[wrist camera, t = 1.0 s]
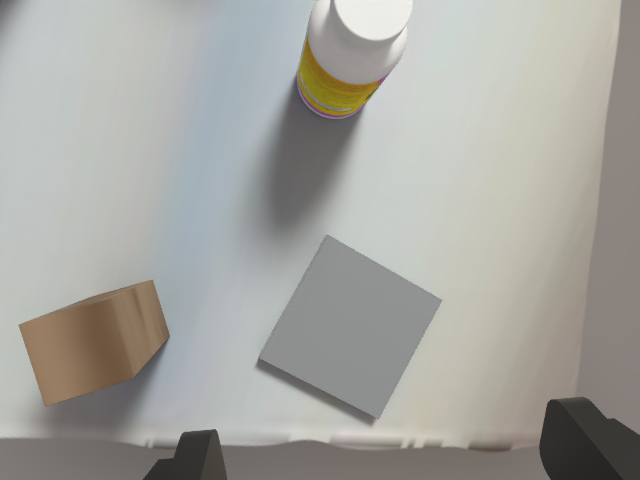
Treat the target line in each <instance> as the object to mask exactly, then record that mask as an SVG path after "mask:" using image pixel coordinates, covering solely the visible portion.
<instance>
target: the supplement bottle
mask: <svg viewBox="0 0 640 480" xmlns="http://www.w3.org/2000/svg"><path fill="white" fill-rule="evenodd" d="M411 12H412V0H316V2H315V4H314V6H313V8H312V11H311V14H310V18H309V22H308V27H307V32H306V36H305V40H304V45H303V49H302V53H301V57H300V62H299V66H298V71H297V86H298V90H299V93H300V96H301V98H302V99H303V101H304V103H305V104H306V105H307V106H308V107H309V108H310V109H311V110H312V111H313V112H315V113H316V114H318V115H320V116H322V117H325V118H330V119H342V118H346V117H349V116H352V115H353V114H355V113H357V112H358V111H359V110H360V109H361V108H362V107H363V106H364V105H365V104H366V103H367V101H368V100H369V99H370V98H371V96H372V95H373V94H374V92H375V91H376V90H377V89H378V87H379V86H380V85H381V83H382V82H383V81H384V80H385V78H386V77H387V76H388V75H389V73H390V72H391V71H392V70H393V68H394V67H395V66H396V64H397V63H398V62H399V60H400V58H401V56H402V54H403V52H404V49H405V45H406V41H407V23H408V21H409V19H410V16H411Z"/></svg>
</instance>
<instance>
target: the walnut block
mask: <svg viewBox="0 0 640 480" xmlns="http://www.w3.org/2000/svg"><path fill="white" fill-rule="evenodd" d="M19 328H20V331H21V334H22V337H23V340H24V343H25V346H26V349H27V352H28V355H29V358H30V361H31V364H32V367H33V371H34V374H35V377H36V380H37V383H38V386H39V389H40V392H41V395H42V398H43V401H44V404H45V406H48V405H51V404H54V403H57V402H61V401H64V400H67V399H70V398H73V397H77V396H80V395H83V394H86V393H89V392H93V391H96V390H99V389H102V388H105V387H108V386H112V385H115V384H118V383H121V382H124V381H128V380H131V379H133V378H134V377H135V375H136V374H137V373H138V372H139V371H140V370H141V369H142V367H143V366H144V365H145V364H146V363H147V362H148V361H149V359H150V358H151V357H152V356H153V355H154V354H155V353H156V351H157V350H158V349H159V348H160V347H161V346H162V345H163V343H164V342H165V341H166V340H167V339H168V338H169V337H170V335H169V331H168V328H167V325H166V322H165V318H164V315H163V312H162V308H161V305H160V302H159V299H158V295H157V292H156V289H155V285H154V282H153V280H149V281H146V282H142V283H139V284H135V285H132V286H128V287H125V288H121V289H118V290H114V291H110V292H107V293H103V294H100V295H96V296H93V297H90V298H87V299H85V300H82V301H79V302H77V303H74V304H72V305H69V306H66V307H64V308H61V309H59V310H56V311H53V312H51V313H48V314H46V315H43V316H40V317H38V318H35V319H33V320H30V321H27V322H25V323H22V324H19Z"/></svg>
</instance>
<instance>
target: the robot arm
mask: <svg viewBox="0 0 640 480" xmlns="http://www.w3.org/2000/svg"><path fill="white" fill-rule="evenodd" d="M539 449H540V456H541V460H542V463H543V466H544V468H545V470H546V472H547V474H548V476H549V477H550V479H551V480H640V435H638V434H637V433H636V432H634V431H633V430H631V429H630V428H628V427H626V426H625V425H623V424H622V423H620V422H619V421H617V420H616V419H613V418H612V419H607V418H606V417H605V416H604V415H603V414H602V413H601V412H600V411H599V410H598V409H597V407H596V406H595V405H594V404H593V403H592V402H591V401H590V400H588V399H587V398H585V397H575V398H564V399H553V400H550V401H549V402H548V404H547V408H546V413H545V418H544V424H543V429H542V434H541V440H540V446H539ZM143 480H227V475H226V470H225V465H224V460H223V455H222V451H221V446H220V441H219V436H218V433H217V431H216V430H215V429H213V430H202V431H191V432H184V433H183V434H182V435H181V437H180V440H179V443H178V446H177V449H176V452H175V455H174V458H171V459H160V460H158V461H157V463H156V464H155V465H154V466H153V467H152V469H151V470H150V471H149V473H148V474H147V475H146V476H145V478H144V479H143Z"/></svg>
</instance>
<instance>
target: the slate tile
mask: <svg viewBox="0 0 640 480" xmlns="http://www.w3.org/2000/svg"><path fill="white" fill-rule="evenodd" d="M441 301H442V300H441V299H440V298H438V297H436V296H434V295H433V294H431V293H429V292H427V291H426V290H424V289H422V288H420V287H419V286H417V285H415V284H413V283H411V282H410V281H408V280H406V279H404V278H403V277H401V276H399V275H397V274H396V273H394V272H392V271H390V270H389V269H387V268H385V267H383V266H382V265H380V264H378V263H376V262H375V261H373V260H371V259H369V258H368V257H366V256H364V255H362V254H361V253H359V252H357V251H355V250H354V249H352V248H350V247H348V246H346V245H345V244H343V243H341V242H339V241H338V240H336V239H334V238H332V237H331V236H329V235H326V236H325V238H324V240H323V242H322V243H321V245H320V247H319V249H318V251H317V252H316V254H315V256H314V258H313V260H312V261H311V263H310V265H309V267H308V269H307V270H306V272H305V274H304V276H303V278H302V279H301V281H300V283H299V285H298V287H297V288H296V290H295V292H294V294H293V296H292V297H291V299H290V301H289V303H288V305H287V306H286V308H285V310H284V312H283V314H282V315H281V317H280V319H279V321H278V323H277V324H276V326H275V328H274V330H273V332H272V333H271V335H270V337H269V339H268V341H267V342H266V344H265V346H264V348H263V350H262V351H261V353H260V356H259V359H261V360H263V361H265V362H267V363H269V364H271V365H273V366H275V367H277V368H279V369H281V370H283V371H285V372H287V373H289V374H291V375H293V376H295V377H297V378H299V379H301V380H303V381H305V382H307V383H309V384H311V385H313V386H315V387H317V388H319V389H321V390H323V391H325V392H326V393H328V394H330V395H332V396H334V397H336V398H338V399H340V400H342V401H344V402H346V403H348V404H350V405H352V406H354V407H356V408H358V409H360V410H362V411H364V412H366V413H368V414H370V415H372V416H374V417H376V418H378V419H379V418H380V416H381V414H382V412H383V410H384V408H385V406H386V405H387V403H388V401H389V399H390V397H391V395H392V393H393V391H394V390H395V388H396V386H397V384H398V382H399V380H400V378H401V376H402V375H403V373H404V371H405V369H406V367H407V365H408V363H409V361H410V360H411V358H412V356H413V354H414V352H415V350H416V348H417V346H418V345H419V343H420V341H421V339H422V337H423V335H424V333H425V331H426V330H427V328H428V326H429V324H430V322H431V320H432V318H433V316H434V315H435V313H436V311H437V309H438V307H439V305H440V303H441Z"/></svg>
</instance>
